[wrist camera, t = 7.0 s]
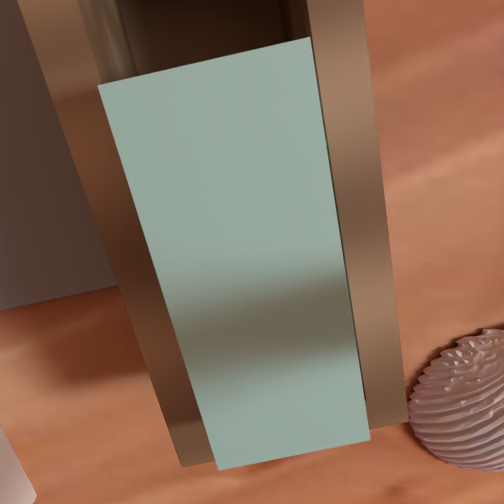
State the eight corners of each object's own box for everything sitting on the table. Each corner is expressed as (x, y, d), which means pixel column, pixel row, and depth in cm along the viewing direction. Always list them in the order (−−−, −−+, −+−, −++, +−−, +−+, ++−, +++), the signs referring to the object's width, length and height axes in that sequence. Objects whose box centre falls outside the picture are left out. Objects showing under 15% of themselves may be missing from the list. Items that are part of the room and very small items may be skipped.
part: (336, 352, 19) (370, 439, 15) (220, 376, 20) (218, 470, 15) (284, 48, 15) (309, 37, 11) (137, 82, 15) (97, 85, 11)
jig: (361, 330, 24) (408, 421, 18) (193, 365, 24) (181, 467, 18) (303, -72, 18) (346, -155, 11) (75, -19, 18) (-8, -70, 12)
